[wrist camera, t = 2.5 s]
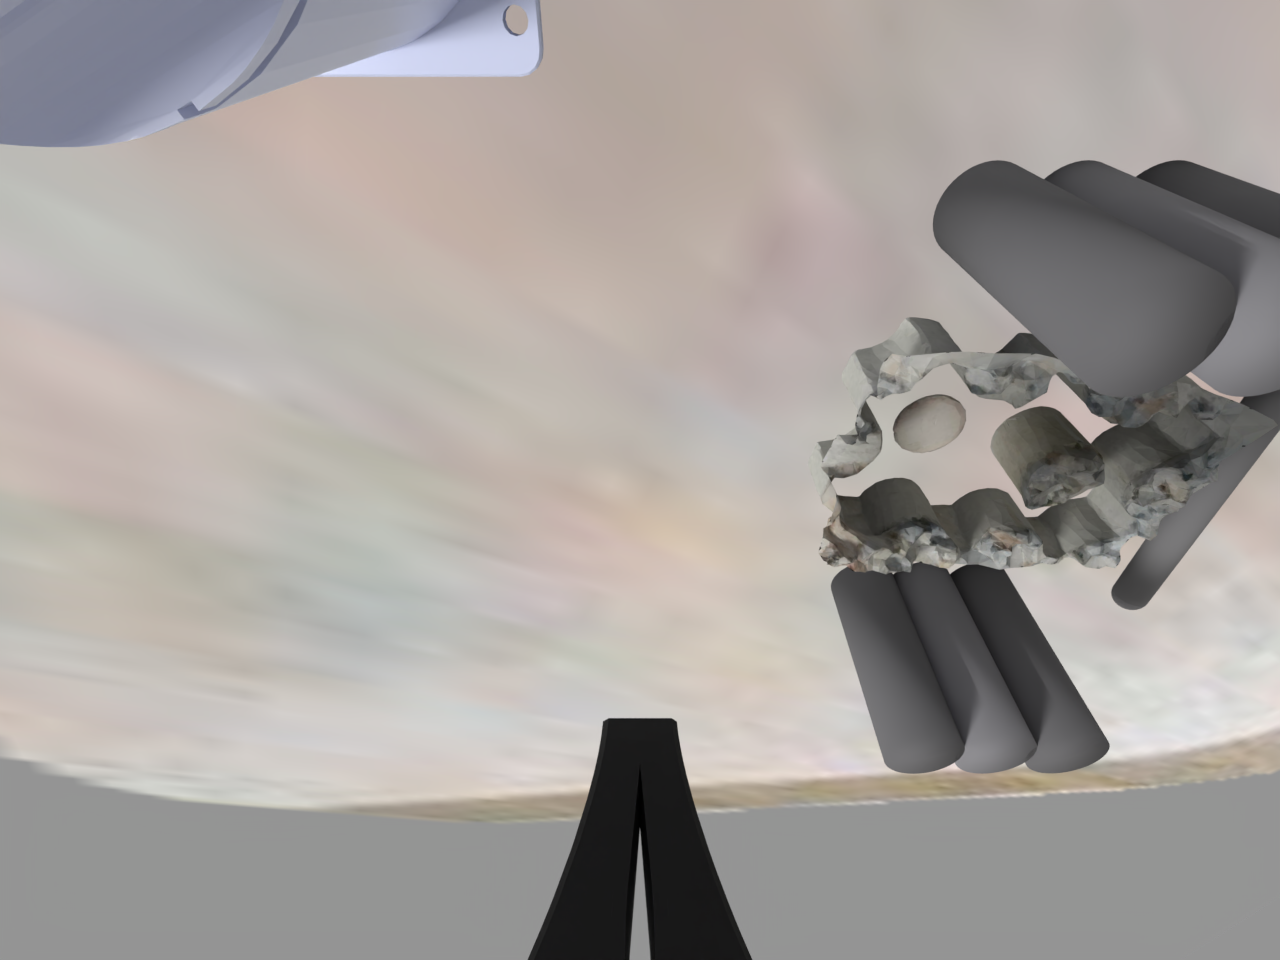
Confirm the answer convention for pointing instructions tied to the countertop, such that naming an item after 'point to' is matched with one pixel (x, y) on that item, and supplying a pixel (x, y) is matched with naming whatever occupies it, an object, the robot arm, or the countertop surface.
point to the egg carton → (1018, 460)
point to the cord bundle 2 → (1128, 269)
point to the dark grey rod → (1191, 517)
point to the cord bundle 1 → (961, 673)
